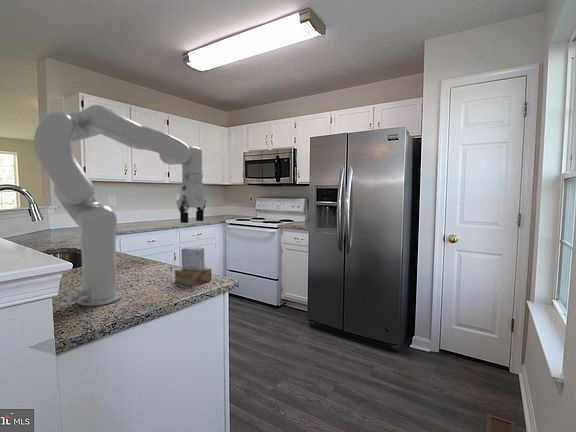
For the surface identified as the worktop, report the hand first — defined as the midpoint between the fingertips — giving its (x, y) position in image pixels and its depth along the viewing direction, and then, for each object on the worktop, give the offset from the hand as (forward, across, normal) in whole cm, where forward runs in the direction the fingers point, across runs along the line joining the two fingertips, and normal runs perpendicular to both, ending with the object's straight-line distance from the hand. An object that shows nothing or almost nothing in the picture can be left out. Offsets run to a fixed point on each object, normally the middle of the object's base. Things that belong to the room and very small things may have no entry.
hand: (192, 221), depth 124 cm
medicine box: (+20, 0, 0) cm, 20 cm away
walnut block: (+24, +1, 0) cm, 25 cm away
